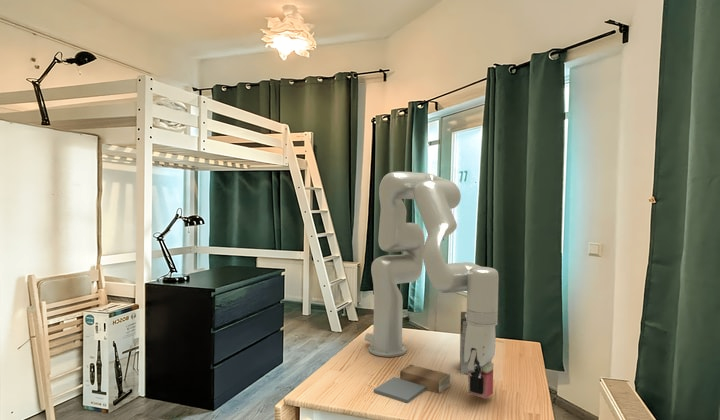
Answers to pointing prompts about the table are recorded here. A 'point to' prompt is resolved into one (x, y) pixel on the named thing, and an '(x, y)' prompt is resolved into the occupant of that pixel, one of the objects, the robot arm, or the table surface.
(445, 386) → the bronze rectangular slab
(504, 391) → the table surface
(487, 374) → the small box
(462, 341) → the coffee box
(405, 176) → the robot arm
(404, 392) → the slate pad
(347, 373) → the table surface
